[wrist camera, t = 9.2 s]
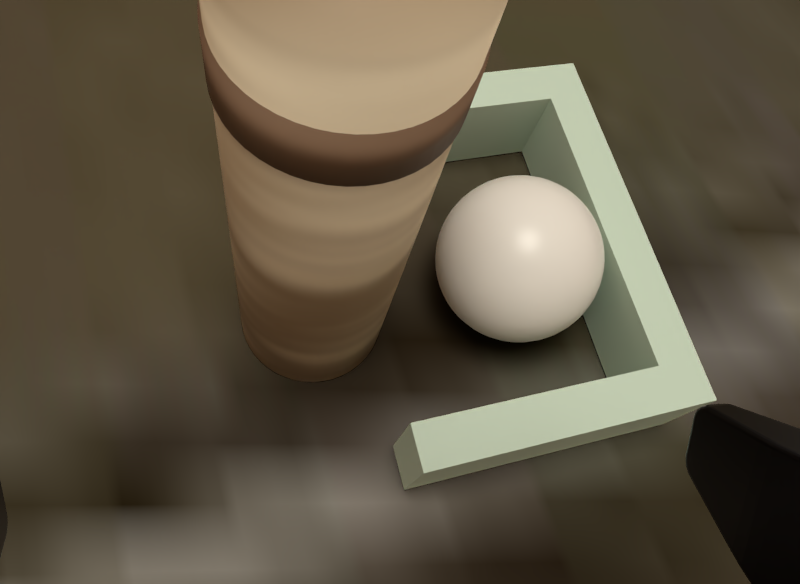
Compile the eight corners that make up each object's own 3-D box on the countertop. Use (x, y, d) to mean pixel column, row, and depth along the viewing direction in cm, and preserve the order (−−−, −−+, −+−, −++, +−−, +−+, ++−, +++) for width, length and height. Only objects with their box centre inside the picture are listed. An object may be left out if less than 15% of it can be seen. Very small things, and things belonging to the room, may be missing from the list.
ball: (481, 271, 16) (394, 332, 20) (641, 336, 17) (531, 381, 21) (502, 115, 18) (420, 198, 22) (643, 184, 19) (543, 250, 23)
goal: (662, 424, 21) (717, 400, 18) (403, 490, 19) (423, 473, 16) (542, 118, 25) (573, 63, 22) (316, 146, 23) (321, 90, 20)
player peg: (406, 350, 20) (581, 14, 9) (272, 407, 19) (265, 104, 7) (346, 232, 22) (430, -203, 10) (217, 279, 20) (136, -155, 9)
